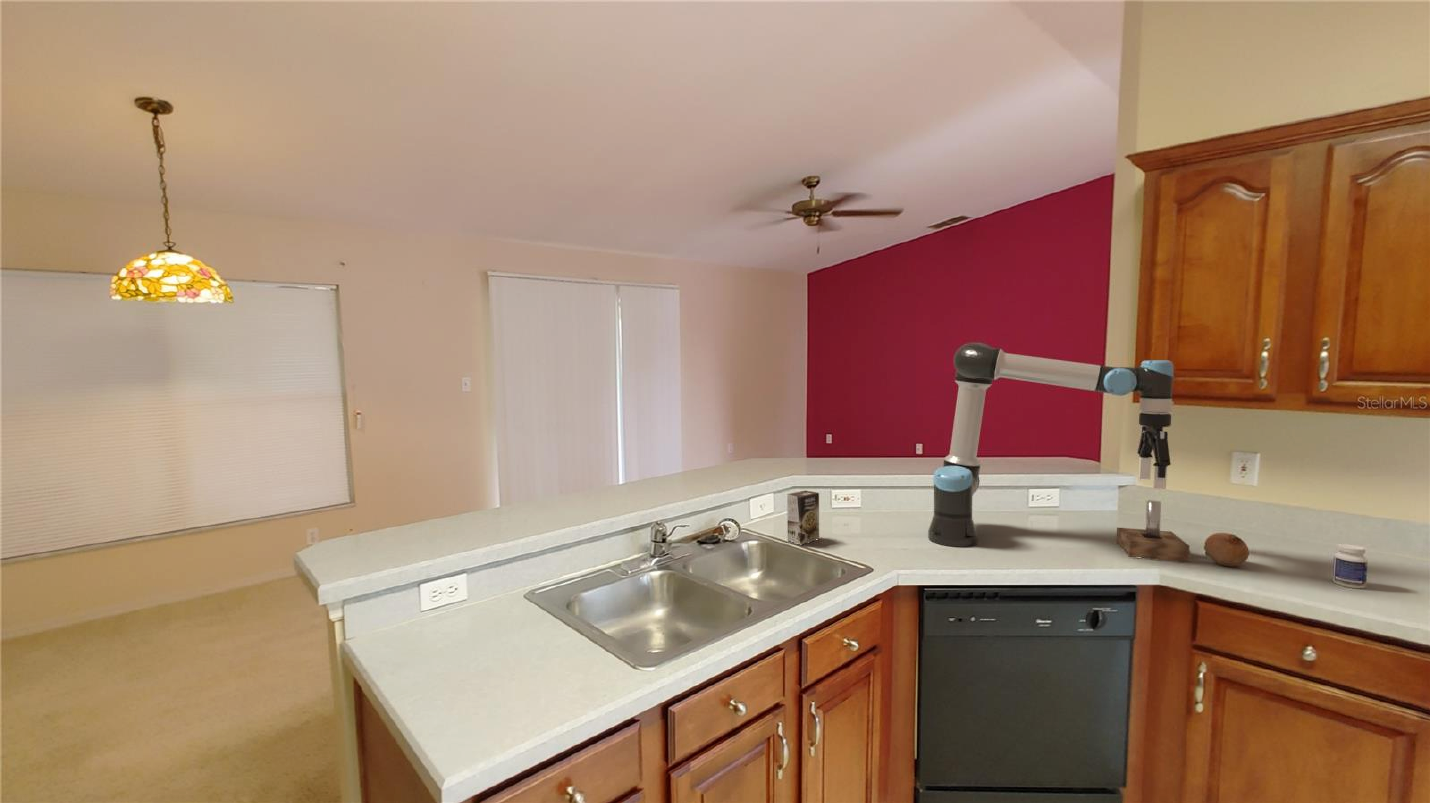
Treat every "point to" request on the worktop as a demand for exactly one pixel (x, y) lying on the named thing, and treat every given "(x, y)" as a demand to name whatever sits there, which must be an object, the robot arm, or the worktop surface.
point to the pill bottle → (1350, 566)
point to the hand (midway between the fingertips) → (1151, 483)
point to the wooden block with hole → (1152, 545)
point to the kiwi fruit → (1226, 549)
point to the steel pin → (1153, 519)
